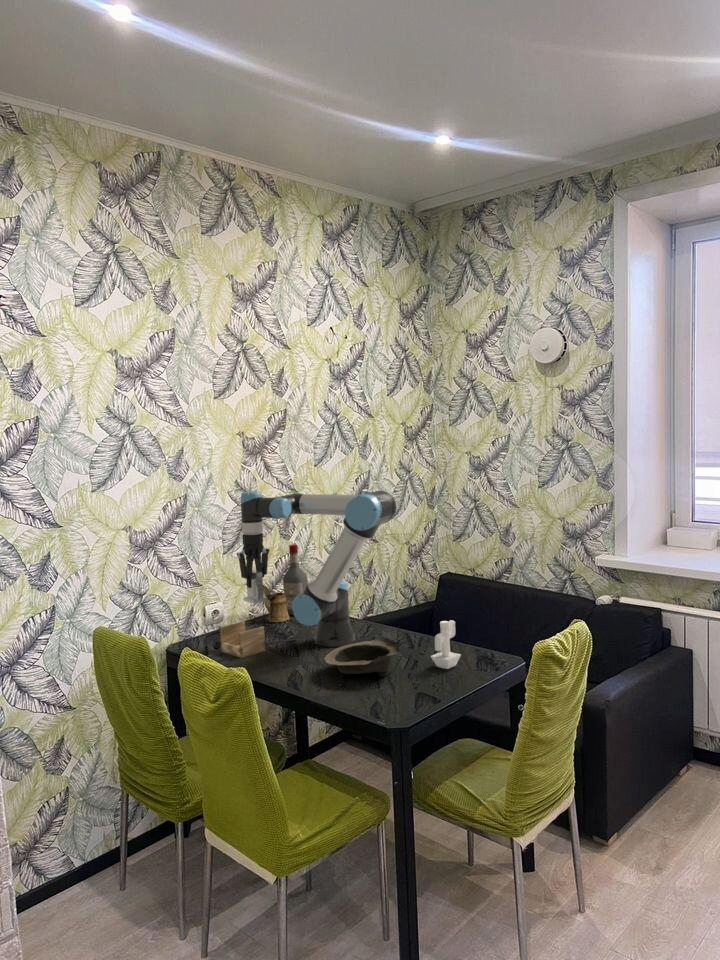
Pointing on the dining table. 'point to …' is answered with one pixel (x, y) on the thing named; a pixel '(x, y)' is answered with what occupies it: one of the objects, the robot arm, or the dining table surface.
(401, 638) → the dining table surface
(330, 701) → the dining table surface
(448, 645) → the figurine
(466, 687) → the dining table surface
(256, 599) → the bracket
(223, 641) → the open wooden box
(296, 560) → the liquor
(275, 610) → the wooden mug
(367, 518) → the robot arm
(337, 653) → the stone bowl
